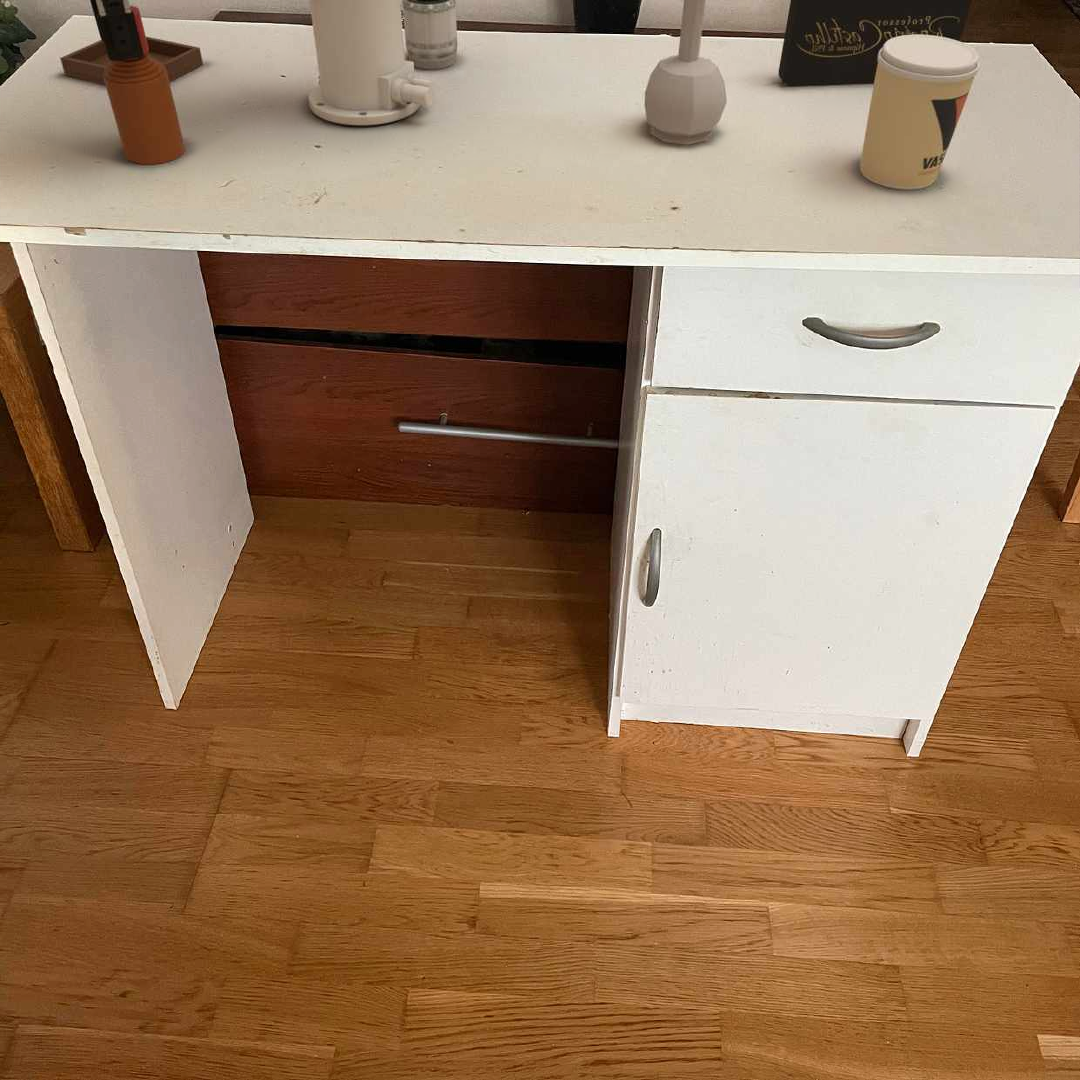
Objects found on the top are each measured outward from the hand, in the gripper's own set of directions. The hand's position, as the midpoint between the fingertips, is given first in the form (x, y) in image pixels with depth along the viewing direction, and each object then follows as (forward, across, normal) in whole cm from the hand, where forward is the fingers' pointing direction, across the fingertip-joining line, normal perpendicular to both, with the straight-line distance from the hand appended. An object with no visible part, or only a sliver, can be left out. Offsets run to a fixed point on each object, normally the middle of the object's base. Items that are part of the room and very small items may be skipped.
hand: (122, 46), depth 98 cm
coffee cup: (+11, -34, -70) cm, 78 cm away
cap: (+1, 0, 0) cm, 1 cm away
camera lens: (+11, +13, -36) cm, 40 cm away
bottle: (+11, 0, 0) cm, 11 cm away
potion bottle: (+11, -16, -54) cm, 57 cm away
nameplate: (+11, -12, -82) cm, 83 cm away
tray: (+11, +24, -2) cm, 26 cm away
